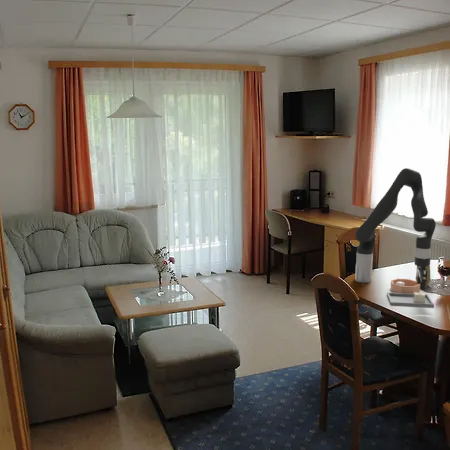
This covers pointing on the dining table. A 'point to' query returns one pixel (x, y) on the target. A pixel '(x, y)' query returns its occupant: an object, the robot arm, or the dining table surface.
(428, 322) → the dining table surface
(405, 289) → the bowl
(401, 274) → the dining table surface
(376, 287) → the dining table surface
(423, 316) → the dining table surface
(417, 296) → the sandy stone
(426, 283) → the squeeze bottle
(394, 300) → the parts tray
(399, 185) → the robot arm
